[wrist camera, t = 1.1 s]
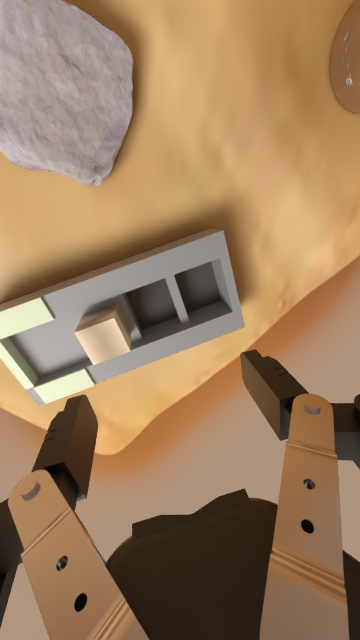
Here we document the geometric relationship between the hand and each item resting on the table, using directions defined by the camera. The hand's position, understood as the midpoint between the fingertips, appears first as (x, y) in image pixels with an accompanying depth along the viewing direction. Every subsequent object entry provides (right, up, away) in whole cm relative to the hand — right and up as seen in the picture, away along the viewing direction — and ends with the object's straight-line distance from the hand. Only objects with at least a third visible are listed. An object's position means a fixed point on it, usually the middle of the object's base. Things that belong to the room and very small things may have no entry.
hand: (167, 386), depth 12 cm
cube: (-8, +3, +15) cm, 17 cm away
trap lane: (-6, +5, +18) cm, 20 cm away
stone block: (-9, +23, +10) cm, 26 cm away
